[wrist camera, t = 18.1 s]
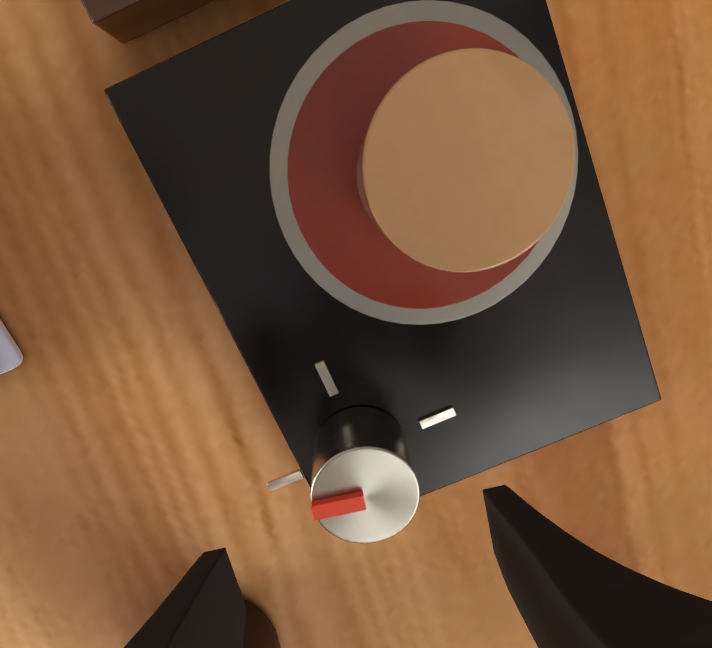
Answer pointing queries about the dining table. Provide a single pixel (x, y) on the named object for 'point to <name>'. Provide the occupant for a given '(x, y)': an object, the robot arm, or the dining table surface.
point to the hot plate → (352, 328)
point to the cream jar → (467, 160)
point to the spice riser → (136, 15)
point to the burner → (340, 154)
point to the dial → (363, 476)
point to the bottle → (258, 630)
